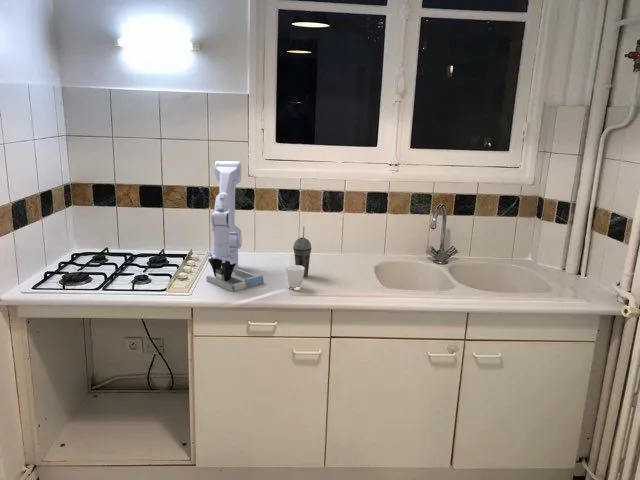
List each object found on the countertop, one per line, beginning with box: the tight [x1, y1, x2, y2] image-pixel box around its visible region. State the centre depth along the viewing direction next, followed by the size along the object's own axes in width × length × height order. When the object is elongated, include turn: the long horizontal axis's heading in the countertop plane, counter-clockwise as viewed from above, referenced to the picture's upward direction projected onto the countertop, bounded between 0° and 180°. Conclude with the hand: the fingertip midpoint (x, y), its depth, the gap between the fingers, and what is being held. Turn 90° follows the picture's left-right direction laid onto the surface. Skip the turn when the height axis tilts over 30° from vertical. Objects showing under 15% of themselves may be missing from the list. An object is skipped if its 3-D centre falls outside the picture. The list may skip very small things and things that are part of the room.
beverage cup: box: [292, 226, 312, 278], centre depth 209 cm, size 7×7×20 cm
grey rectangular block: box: [215, 268, 229, 283], centre depth 198 cm, size 3×3×5 cm
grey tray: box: [205, 267, 265, 293], centre depth 199 cm, size 16×15×4 cm
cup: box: [285, 264, 305, 291], centre depth 198 cm, size 7×10×8 cm
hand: (222, 278), depth 199 cm, fingers open, 6 cm apart
